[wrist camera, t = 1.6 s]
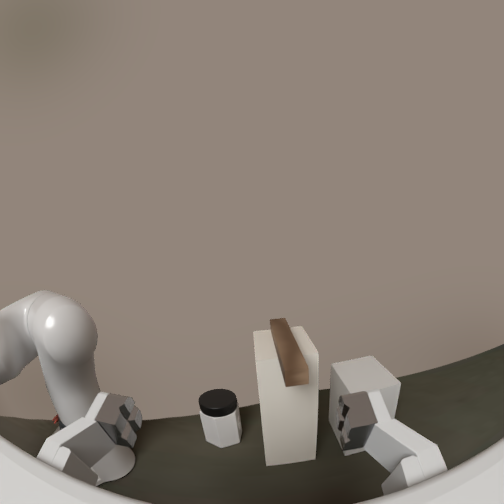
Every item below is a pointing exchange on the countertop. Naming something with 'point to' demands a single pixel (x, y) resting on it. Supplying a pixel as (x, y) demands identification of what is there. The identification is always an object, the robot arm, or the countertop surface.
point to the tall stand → (287, 402)
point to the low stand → (361, 386)
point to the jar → (220, 417)
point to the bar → (289, 354)
